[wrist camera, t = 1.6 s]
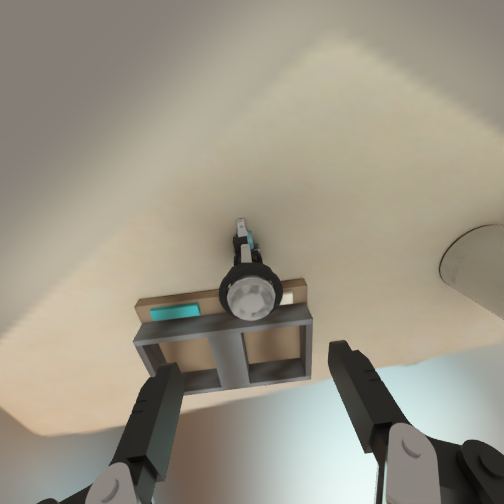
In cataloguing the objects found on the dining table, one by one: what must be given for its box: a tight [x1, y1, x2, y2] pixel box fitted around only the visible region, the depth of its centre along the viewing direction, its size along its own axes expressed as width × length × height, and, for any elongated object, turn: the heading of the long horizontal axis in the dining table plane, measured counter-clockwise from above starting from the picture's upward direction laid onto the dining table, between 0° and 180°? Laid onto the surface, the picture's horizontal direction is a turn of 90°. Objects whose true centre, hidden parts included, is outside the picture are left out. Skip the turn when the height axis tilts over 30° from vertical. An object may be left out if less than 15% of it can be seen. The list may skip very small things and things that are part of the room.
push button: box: [219, 219, 283, 321], centre depth 20 cm, size 7×5×10 cm
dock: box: [133, 279, 313, 396], centre depth 29 cm, size 22×15×4 cm
